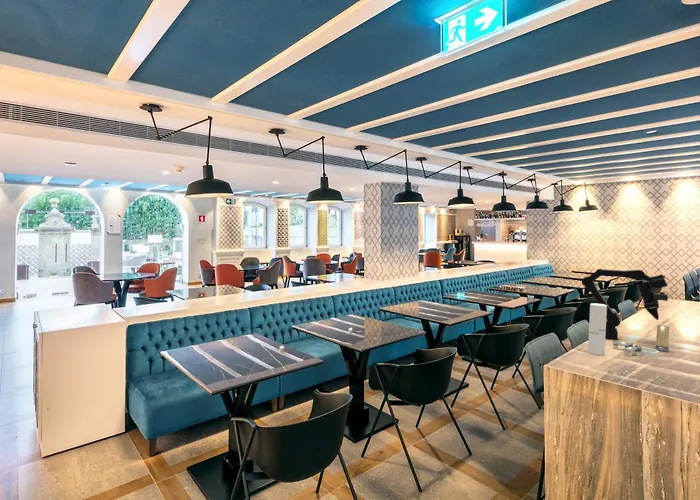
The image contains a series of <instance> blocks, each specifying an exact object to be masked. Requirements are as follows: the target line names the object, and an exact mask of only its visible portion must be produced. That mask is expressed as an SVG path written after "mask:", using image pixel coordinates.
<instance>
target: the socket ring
mask: <svg viewBox="0 0 700 500" xmlns="http://www.w3.org/2000/svg"><path fill="white" fill-rule="evenodd" d="M640 347H641V348H642V351H641V352H639V355H641V356H646V357H653V358H655V357H656V358H657V357H659V356H660V351H658V350H655V348H650V347H644V346H643V347H642V346H640Z"/></svg>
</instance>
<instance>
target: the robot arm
mask: <svg viewBox="0 0 700 500" xmlns="http://www.w3.org/2000/svg"><path fill="white" fill-rule="evenodd" d="M601 276H603V277H605V276H606V277H614V278H615V277H617V278H618V277H620V278H626V279H631V280H633V283H632V284H631V286H637V289H638V292H639V294H640V297H641V299H642V301H643V307H644V309H645V310H646V312H648V313H649V314H650V315H651V316H652V317H653V318H654V319H655V320H656V321H657V320H660V319H659V312H658V309H659V308H660V305H659V301H664V302H668V301H669V299H668V298H669V295H668V293H667V294H665V292H664V291H660V292H659V293H655V292H654V291H653V288H655V290H657V289H663V288H666V287H668V286H669V285H668V283H667V281H666V280H665V278H664V275H663V274H658V275H657V276H652V277H651V276H650V275H648V274H646V273H645V271H643V270H642V269H631V270H630V269H629V270H618V269H602V268H598V269H596V271H594V272H593V273H592V274H590V275H589V276H588V275H587V276H585V277H583V278H582V280H581V284H582V285H583V286H584V287H585V288H586V289H587V290H588V291H589V293H591V295H592V296H593V297H594V299H595V301H596V302H597V304H604V305H607V314H606V334H605V340H613V341H618V340H619V339H618V337H619V331H618V328H616V327H618V326H620V324H621V322H622V321H621V316H620V315H619V314H618V311H615V312H614V311H613V310H612V309H611V307H610V305H609V304H608V303H607V301H606V300H605V298H604V296H602V294H601V293H600V291H599V289H598V286H597V284H596V282H595V281H596V280H597V279H598V278H600V277H601ZM635 280H636V281H635Z"/></svg>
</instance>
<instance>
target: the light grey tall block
mask: <svg viewBox="0 0 700 500" xmlns="http://www.w3.org/2000/svg"><path fill="white" fill-rule="evenodd" d="M606 314H607V305H604V304H598V302H597V303H595V302H594V303H590V304H589V319H588V320H589V325H588V339H587V340H588V343H587V344H588V345H587V353H589V354H590V355H596V356H604V355H605V349H606V339H605V334H606V322H607V319H606Z"/></svg>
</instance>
